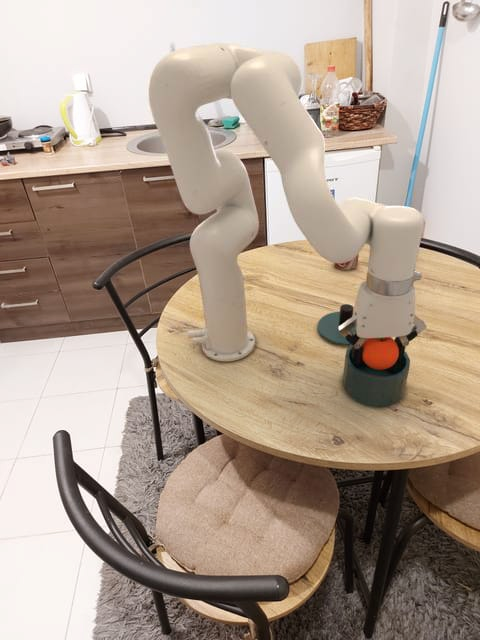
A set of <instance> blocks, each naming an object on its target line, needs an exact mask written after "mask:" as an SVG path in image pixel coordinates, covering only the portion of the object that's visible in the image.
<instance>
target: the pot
mask: <svg viewBox="0 0 480 640" xmlns="http://www.w3.org/2000/svg"><path fill="white" fill-rule="evenodd" d="M352 347H353V345H352V344H351V345H349V346H348V348H347V349H346V350H345V351H346V352H345V356H344V365H343V375H342V386H343V390H344V391H345V393H346V394H347V395H348V396H349V397H350V399H352V400H354V401H355V402H357V403H359V404H361V405H364V406H367V407H371V408H385V407H391V406H392V405H395V404H397V403H398V402H399V401H400V400H401V399H402V398H403V396H404V394H405V390H406V385H407V381H408V376H409V372H410V367H411V359H410V357H409V355H408V352H407V351H405V352H404V356H402V358H401V362H400V363H397V362H395V364H394V365H393V366H391V367H390V368H387V369H384V370H376V369H373V368H371V367H369V366H368V365H367V364H366V363H365V362H364V361H363V359H362V362H361V364H360V365H357V362H356V360H355V359H353V357H352Z"/></svg>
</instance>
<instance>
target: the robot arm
mask: <svg viewBox="0 0 480 640" xmlns="http://www.w3.org/2000/svg"><path fill="white" fill-rule="evenodd" d="M149 76H150V77H149V80H148V83H147V102H148V108H149V111H150V115H151V116H152V119H153V122H154V124H155V126H156V128H157V130H158V133H159V135H160V138H161V140H162V142H163V145H164V148H165V150H166V155H167V158H168V162H169V165H170V168H171V171H172V174H173V177H174V180H175V183H176V186H177V189H178V192H179V195H180V198H181V200H182V203H183V204H184V206H185V208H186V209H187V210H188V211H189V212H190V213H192V214H194V215H199V216H201V215H207V214H209V213H211V212H213V211H215V210H216V212H215V213H213V214H211V215H210V216H209V217H207V218H206V219H205V220H203V221H201V222H200V224H198V225H197V227H196V228H194V230H193V232H192V234H191V235H190V239H189V251H190V254H191V257H192V260H193V262H194V266H195V268H196V272H197V277H198V282H199V289H200V290H199V291H200V294H201V302H202V303H201V304H202V309H203V317H204V323H205V328H201V329H191V330H190V329H189V330H188V333H187V335H188V337H187V338H188V339H192V344H201V348H202V352H203V353H204V354H205V356H206V357H208V358H209V359H211V360H214V361H217V362H235V361H238V360H242V359H243V358H245V357H247V356H248V355H249V354H251V353H252V351H253V350H254V348H255V346H256V339H255V335H254V334H253V333H252V332H251V330H249V329H248V319H247V304H246V291H245V289H246V288H245V280H244V275H243V271H242V269H241V267H240V266H239V262H238V257H239V255H240V254H241V253H242V252H243V251H244V250H245V249H246V248H247V247H248V246H249V245H250V244H251V243H252V242H253V241H254V240H255V239H256V237H257V236H258V234H259V229H260V221H259V220H260V219H259V214H258V210H257V207H256V202H255V197H254V194H253V190H252V185H251V182H250V176H249V173H248V171H247V169H246V166H245V164H244V163H243V161H242V160H241V158H239V157H238V156H237V155H236V154H235V153H233V152H231V151H229V150H225V149H220V150H219V149H218V150H215V147H214V145H213V140H212V136H211V133H210V131H209V128H208V126H207V125H206V123H205V121H204V120H203V119H202V117H201V116H200V114H199V113H198V109H199V108H200V107H203V106H204V105H207V104H212V103H214V102H217V101H220V100H223V99H227V100H228V99H229V100H232V102H233V104H234V106H235V107H236V109H237V110H238V112H239V113H240V116H241V117H242V118H243V119H244V121H245V123H246V124H247V125H248V127H249V129H250V130H251V131H252V132H253V134H254V136H255V137H256V138H257V140H258V141H259V142H260V145H261V146H262V147H263V148H264V150H265V151H266V153H267V154H268V156H269V157H270V159H271V161H273V163H274V165H276V167H277V169H278V171H279V174H280V178H281V183H282V188H283V192H284V195H285V198H286V203H287V205H288V209H289V212H290V214H291V216H292V218H293V220H294V222H295V224H296V226H297V228H298V229H299V230H300V232H301V234H303V236H304V237H305V239H306V240H307V242H308V243H309V245H310V246H311V247H312V248H313V250H314V251H315V252H316V253H317V254H318V255H319V256H320V257H321V258H323V259H324V260H325V261H327V262H330V263H333V264H334V263H346V262H348V261H351V260H352V259H354V258H355V257H356V256H357V255H358V254H360V253H361V251H362V250H363V248H364V247H365V245H368V246H369V254H368V263H367V264H368V265H367V269H366V270H367V271H366V279H365V281H362V282H361V283H360V286H359V288H358V291H357V295H356V298H355V302H354V306H353V317H352V318H350V319H349V320H347V321H346V322H344V323H343V324H342V325H340V326H339V327H338V331H339V333H340V334H341V335H342V336H343V337H344V338H345V339H346V340H347V341H348V342H349V343H351V344H352V345H353V347H352V357H353V359H355V360H356V362H357V365H360V364H361V362H362V355H363V348H362V344H363V343H364V342H365V340H366V339H367V338H383V337H391V338H394V339H393V340H394V341H395V342H396V343H397V346H398V349H399V356H398V359H397V361H396V362H397V363H400V362H401V358H402V356H404V352H406V347H407V346H409V345H410V342H411V341H412V340H414V339H416V338H417V337H418V335H419V334H421V333H422V332H423V331H424V330H425V329H426V328H427V324H426V323H425V321H424V320H423V319H421V318H420V317H418V316H417V315H415V313H416V290H415V286H414V283H415V282H416V281H421V280H422V278H423V277H422V276H423V275H422V272H421V271H416V266H417V261H418V256H419V251H420V245H421V240H422V236H423V231H424V224H425V220H424V216H423V214H422V213H421V212H420V211H419V210H418V209H416V208H413V207H410V206H405V205H386V204H382V203H378V202H375V201H372V200H368V199H365V198H361V197H360V198H359V197H350V198H347V199H344V200H343V201H341V202H340V203H339V204H338V202H337V200H336V199H335V197H334V195H333V193H332V191H331V189H330V186H329V184H328V179H327V176H326V170H325V155H326V141H325V137H324V134H323V133H322V131H321V130H320V128H319V127H318V126H317V123H316V122H315V121H314V119H313V117H312V116H311V115H310V113H309V112H308V110H307V109H306V107H305V106H304V104H303V102H302V101H301V99H300V98H299V97H300V95H301V92H302V88H303V75H302V71H301V69H300V67H299V65H298V63H297V62H296V61H295V60H294V59H293V58H292V57H290V56H289V55H287V54H285V53H283V52H280V51H273V50H268V49H267V50H266V49H260V48H254V47H248V46H244V45H243V46H242V45H237V44H232V43H223V42H215V43H207V44H203V45H193V46H188V47H183V48H179V49H175V50H173V51H171V52H170V53H168V54H166V55H165V56H163V57H162V58H161V59H160V60H159V61H158V62H157V63H156V64H155V66H154V67H153V69H152V71H151V74H150V75H149ZM355 326H356V331H355V333H354V334H352V333H351V332H350V331H349V330H350V329H352V328H353V327H355Z"/></svg>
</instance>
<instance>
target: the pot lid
mask: <svg viewBox="0 0 480 640" xmlns="http://www.w3.org/2000/svg"><path fill="white" fill-rule="evenodd" d="M339 307H340V308H339V311H334V312H329V313H327V314H325V315H323V316H322V317H321V318H320V319H319V320H318V321H317V331H318V333H319V335H320V336H321V337H322V338H323V339H325V340H326V341H327V342H329V343H332V344H335V345H341V346H351V343H349V342H348V341H347V340H346V339H345V338H344V337H343V336H342V335H341V334H340V333H339V331H338V327H339V326H340V325H342V324H343V323H344V322H346V321H347V320H349V319H350V318H352V317H353V311H354V306H353V305H351V304H349V303H345V304H341V305H340V306H339ZM349 331H350V332H351V333H352V334H354V333H355V331H356V326H355V327H353V328H352V329H350V330H349Z"/></svg>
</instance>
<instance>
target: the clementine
mask: <svg viewBox="0 0 480 640" xmlns="http://www.w3.org/2000/svg"><path fill="white" fill-rule="evenodd" d="M394 340H395V339H394V337H383V338H367V339H366V340H365V342H364V343H363V344H362V348H363V355H362V359H363V361H364V362H365V363H366V364H367V365H368V366H369V367H371V368H373V369H376V370H384V369H387V368H390V367H391V366H393V365H394V364H395V362H396V361H397V359H398V356H399V349H398V346H397V343H396V342H395V341H394Z"/></svg>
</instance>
